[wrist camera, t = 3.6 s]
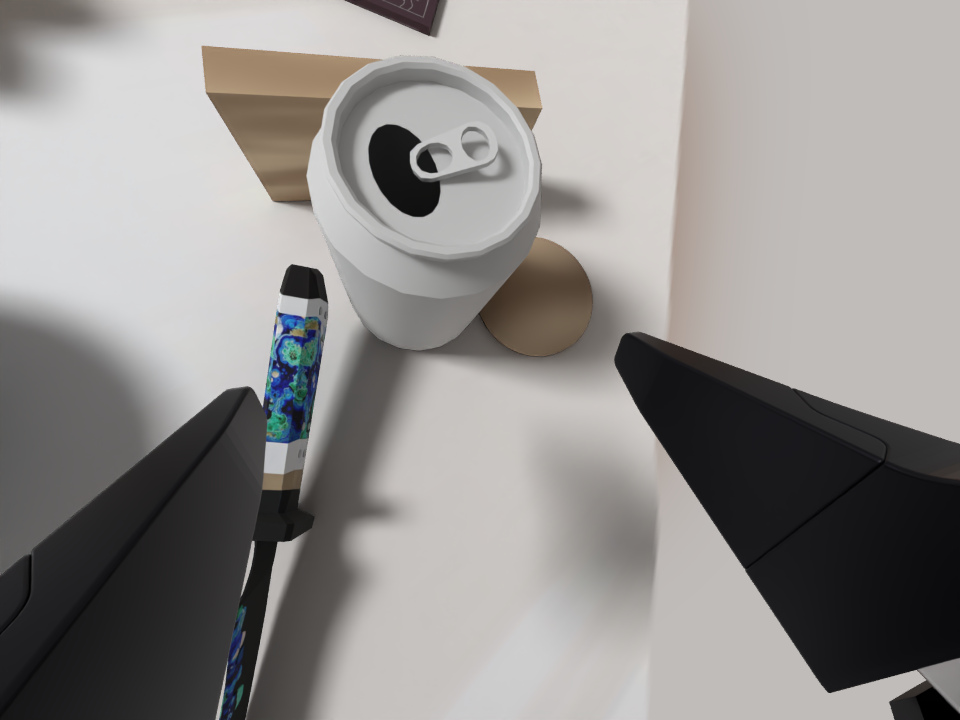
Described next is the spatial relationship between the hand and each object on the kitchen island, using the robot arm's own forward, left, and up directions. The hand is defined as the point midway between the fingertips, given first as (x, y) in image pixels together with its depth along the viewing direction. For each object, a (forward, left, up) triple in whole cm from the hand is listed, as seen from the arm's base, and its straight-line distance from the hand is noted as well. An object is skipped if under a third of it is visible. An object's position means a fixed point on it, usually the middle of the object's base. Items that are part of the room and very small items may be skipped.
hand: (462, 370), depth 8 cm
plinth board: (+12, -5, -12) cm, 18 cm away
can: (+6, -3, -12) cm, 14 cm away
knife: (-4, +12, -12) cm, 18 cm away
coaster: (+1, -9, -12) cm, 16 cm away
